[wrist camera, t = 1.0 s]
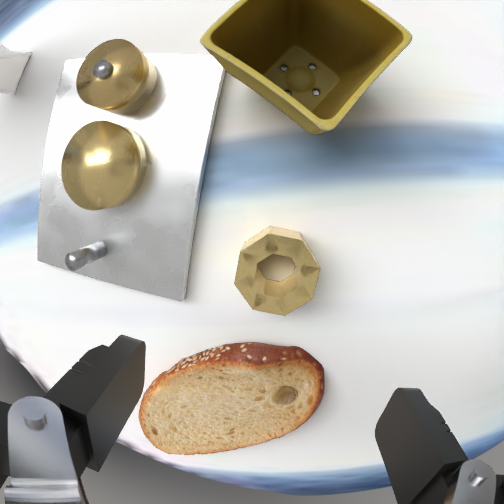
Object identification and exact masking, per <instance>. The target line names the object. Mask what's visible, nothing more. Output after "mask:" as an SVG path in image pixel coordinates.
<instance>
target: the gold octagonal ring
mask: <svg viewBox="0 0 504 504" xmlns="http://www.w3.org/2000/svg"><path fill="white" fill-rule="evenodd" d="M271 254H277V255H282V256H287V257H291V259H292V260H293V262H294V263H295V269H294V274H293V275H291V276H289V277H288V278H286V279H285V280H283V281H281V282H278V281H273V280H268V279H265V278H264V276H263V275H262V273H261V272H260V270H259V269H258V267H257V264H258V263H259V262H260V261H262V260H263V259H265V258H267V257H268V256H270V255H271ZM319 271H320V267H319V265H318V263H317V261H316V259H315V257H314V255H313V254H312V252H311V251H310V249H309V247H308V246H307V244H306V243H305V241H304V240H303V238H302V237H301V235H300V233H299V232H296V231H291V230H286V229H282V228H277V227H272V226H269V227H267V228H266V229H264V230H263V231H261V232H260V233H258V234H257V235H255V236H254V237H252V238H251V239H249V240H248V241H246V242H245V243H244V245H243V247H242V249H241V251H240V255H239V261H238V266H237V272H236V277H235V282H234V284H235V285H236V287H237V288H238V290H239V291H240V292H241V294H242V295H243V297H244V298H245V299H246V301H247V302H248V304H249V305H250V306H251V308H252V309H253V310H258V311H263V312H268V313H273V314H278V315H283V316H285V315H287V314H288V313H290V312H292V311H293V310H295V309H297V308H298V307H300V306H302V305H303V304H305V303H307V302H308V301H310V300H312V298H313V294H314V290H315V287H316V283H317V279H318V275H319Z"/></svg>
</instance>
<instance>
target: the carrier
mask: <svg viewBox="0 0 504 504" xmlns="http://www.w3.org/2000/svg"><path fill="white" fill-rule="evenodd" d="M225 72H226V70H225V69H224V68H223V67H222V66H221V65H220V64H219V63H218V62H217V60H216V59H215V58H214V57H213V56H206V55H188V54H143V53H142V52H141V51H140V50H139V49H138V48H137V47H135V46H134V45H133V44H132V43H131V42H129V41H127V40H123V39H114V40H109V41H106V42H104V43H102V44H100V45H99V46H97V47H96V48H95V49H93V50H92V51H91V52H90V53H89V54H88V55H87V57H86V58H81V59H73V60H66V62H65V65H64V69H63V72H62V76H61V79H60V83H59V86H58V90H57V94H56V98H55V102H54V107H53V111H52V116H51V121H50V126H49V131H48V136H47V142H46V148H45V155H44V162H43V169H42V178H41V188H40V199H39V215H38V261H41V262H44V263H47V264H50V265H53V266H56V267H59V268H63V269H66V270H69V271H72V272H76V273H79V274H82V275H86V276H89V277H92V278H96V279H99V280H103V281H106V282H110V283H113V284H117V285H121V286H124V287H128V288H132V289H135V290H139V291H143V292H147V293H151V294H154V295H158V296H162V297H166V298H170V299H174V300H179V301H182V300H183V299H184V297H185V295H186V287H187V280H188V272H189V265H190V258H191V251H192V244H193V237H194V231H195V224H196V218H197V212H198V206H199V200H200V194H201V188H202V183H203V177H204V172H205V166H206V161H207V156H208V150H209V145H210V140H211V135H212V130H213V126H214V121H215V116H216V111H217V107H218V102H219V98H220V93H221V89H222V84H223V80H224V76H225Z"/></svg>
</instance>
